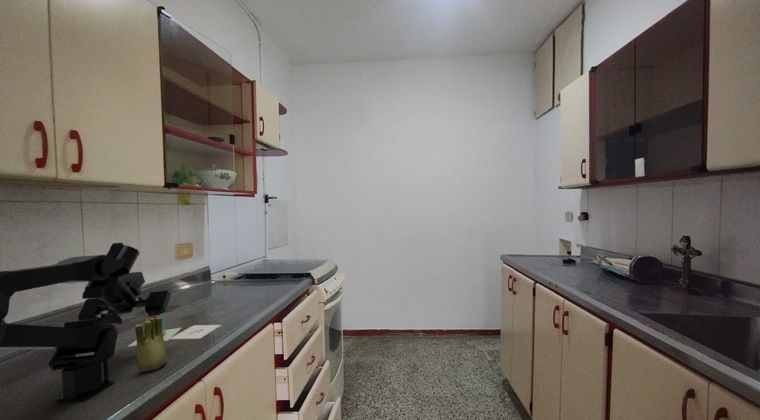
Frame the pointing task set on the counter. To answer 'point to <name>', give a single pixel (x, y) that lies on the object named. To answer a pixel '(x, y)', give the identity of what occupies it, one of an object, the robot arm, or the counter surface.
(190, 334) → the card
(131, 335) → the counter surface
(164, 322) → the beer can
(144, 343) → the fennel bulb
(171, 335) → the sage mat
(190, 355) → the counter surface
